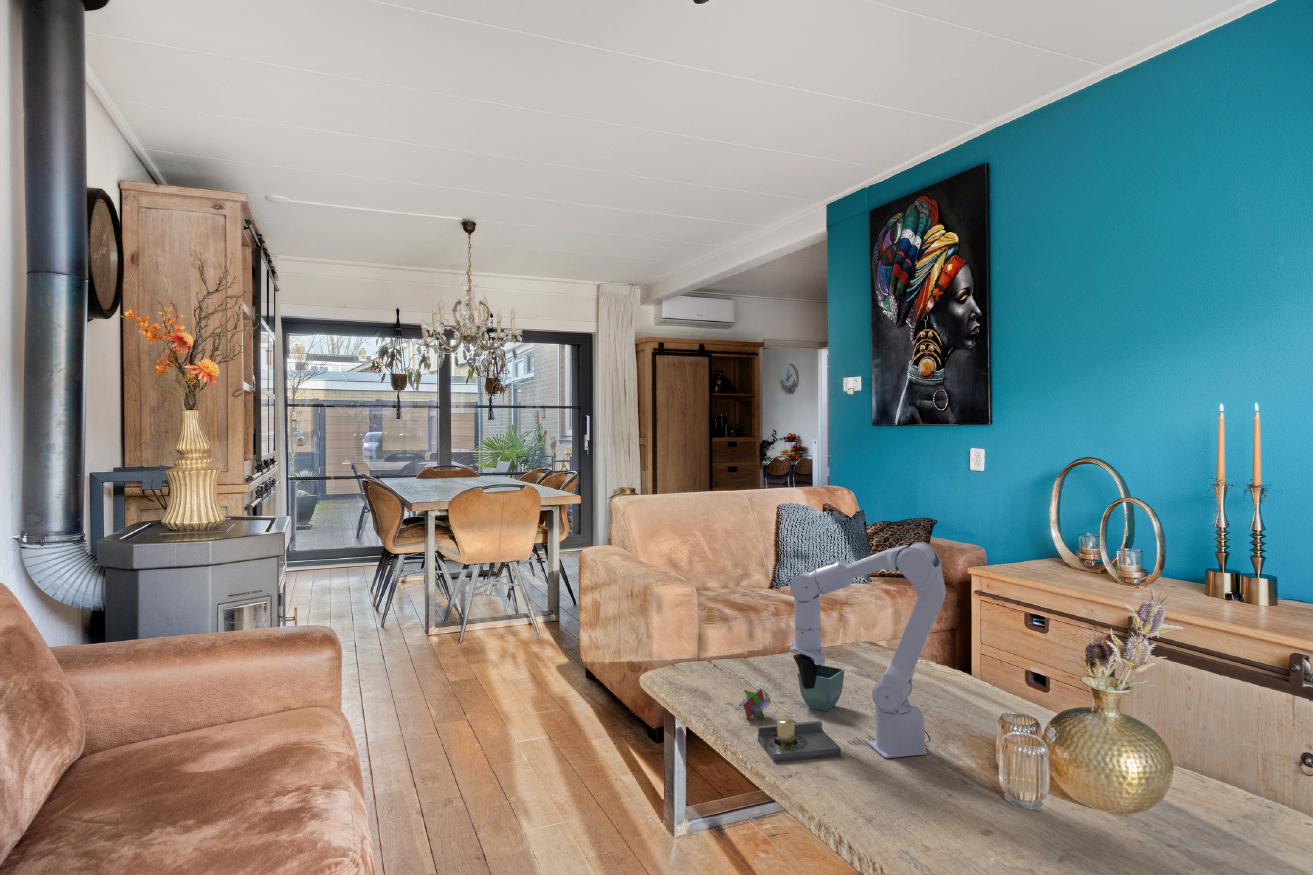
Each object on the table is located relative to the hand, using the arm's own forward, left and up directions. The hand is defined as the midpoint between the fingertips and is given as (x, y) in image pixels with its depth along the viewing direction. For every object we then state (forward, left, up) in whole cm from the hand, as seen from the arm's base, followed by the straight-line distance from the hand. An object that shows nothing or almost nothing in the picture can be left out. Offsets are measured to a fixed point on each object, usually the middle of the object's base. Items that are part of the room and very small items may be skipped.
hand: (808, 687), depth 167 cm
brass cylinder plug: (+8, +7, -10) cm, 15 cm away
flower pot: (-9, -15, -10) cm, 20 cm away
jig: (+5, +7, -10) cm, 13 cm away
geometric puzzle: (+9, -12, -10) cm, 18 cm away
